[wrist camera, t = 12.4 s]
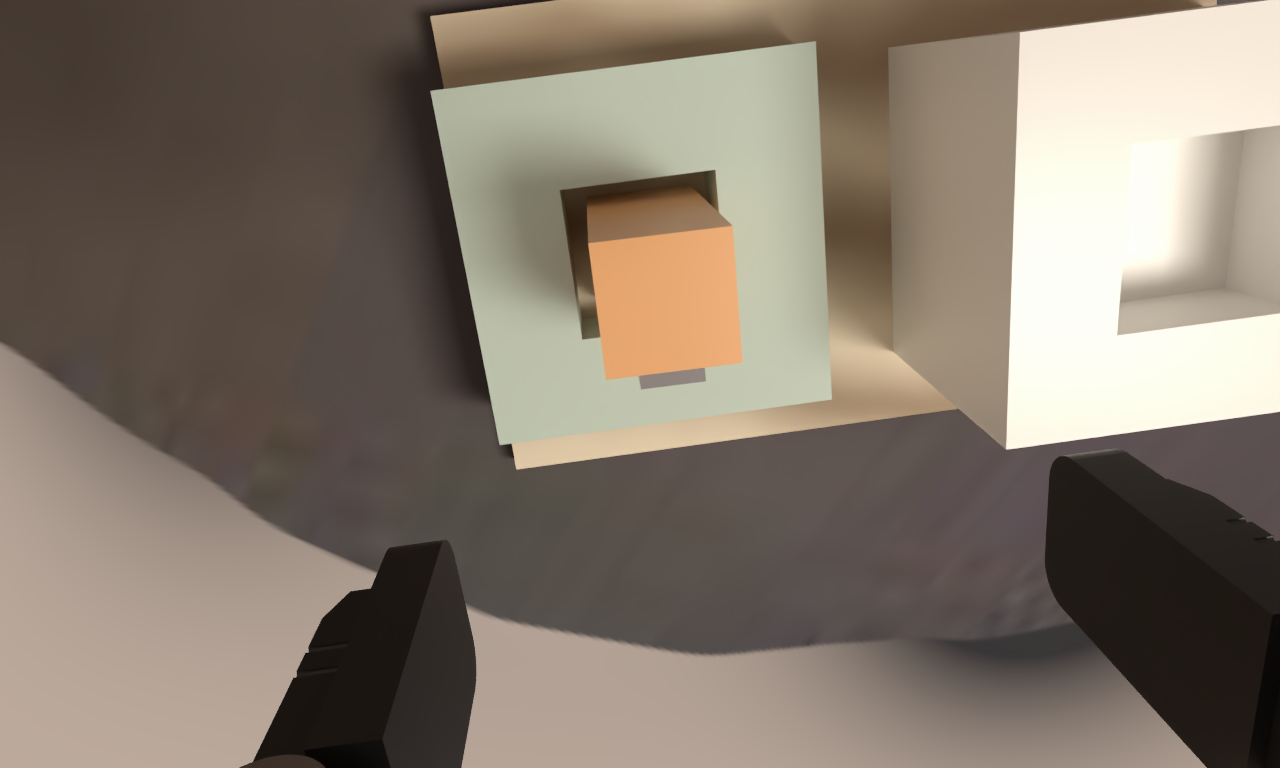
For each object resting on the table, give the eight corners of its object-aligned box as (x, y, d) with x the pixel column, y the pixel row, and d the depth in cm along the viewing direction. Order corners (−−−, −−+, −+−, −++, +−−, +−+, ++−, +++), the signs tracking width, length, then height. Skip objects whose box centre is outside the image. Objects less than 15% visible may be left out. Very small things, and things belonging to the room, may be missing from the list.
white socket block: (888, 47, 31) (1019, 32, 22) (1203, 6, 31) (1467, -26, 22) (893, 352, 35) (1006, 449, 26) (1171, 313, 36) (1383, 397, 26)
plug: (586, 196, 32) (588, 243, 23) (689, 184, 32) (732, 225, 23) (602, 316, 34) (609, 405, 25) (699, 304, 34) (744, 388, 25)
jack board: (434, 18, 31) (430, 16, 30) (1206, -80, 31) (1225, -85, 30) (518, 459, 37) (516, 469, 36) (1161, 371, 38) (1176, 378, 37)
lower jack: (444, 90, 31) (430, 90, 28) (794, 45, 31) (816, 41, 28) (506, 415, 35) (499, 445, 32) (812, 374, 35) (831, 399, 33)
